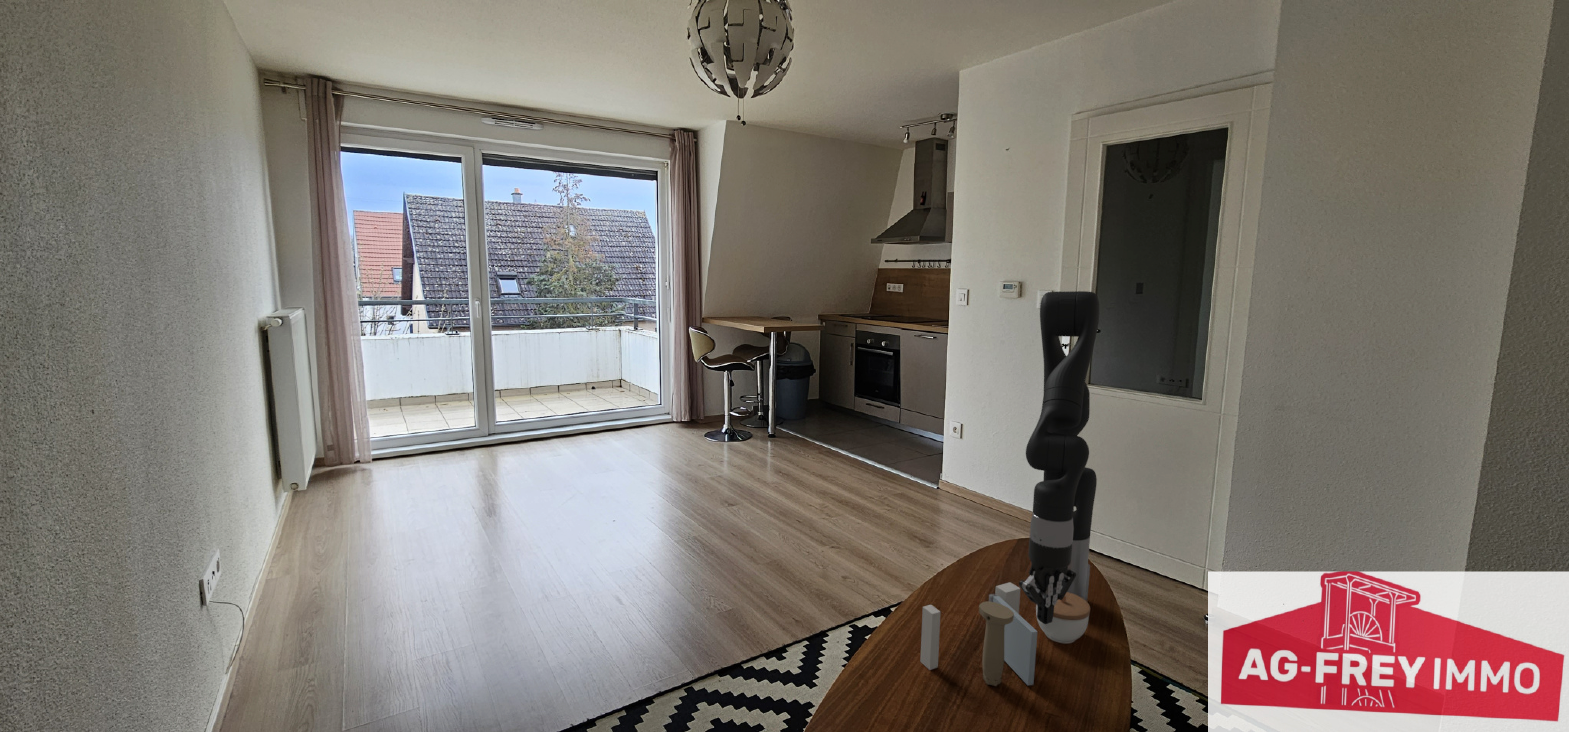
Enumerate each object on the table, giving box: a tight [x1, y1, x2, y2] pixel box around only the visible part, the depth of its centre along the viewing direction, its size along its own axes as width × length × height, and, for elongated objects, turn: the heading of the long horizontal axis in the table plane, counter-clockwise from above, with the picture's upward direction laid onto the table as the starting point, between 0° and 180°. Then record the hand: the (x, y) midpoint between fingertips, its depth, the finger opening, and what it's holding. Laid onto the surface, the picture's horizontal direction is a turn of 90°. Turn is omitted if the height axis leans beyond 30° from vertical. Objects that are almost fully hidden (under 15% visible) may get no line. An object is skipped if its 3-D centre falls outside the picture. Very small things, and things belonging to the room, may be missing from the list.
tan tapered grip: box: [978, 600, 1014, 687], centre depth 129 cm, size 5×6×15 cm
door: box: [988, 593, 1038, 686], centre depth 135 cm, size 15×2×11 cm, turn 14°
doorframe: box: [919, 581, 1022, 671], centre depth 139 cm, size 23×3×12 cm, turn 116°
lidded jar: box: [1035, 592, 1091, 645], centre depth 145 cm, size 11×11×9 cm
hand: (1044, 621), depth 130 cm, fingers closed
